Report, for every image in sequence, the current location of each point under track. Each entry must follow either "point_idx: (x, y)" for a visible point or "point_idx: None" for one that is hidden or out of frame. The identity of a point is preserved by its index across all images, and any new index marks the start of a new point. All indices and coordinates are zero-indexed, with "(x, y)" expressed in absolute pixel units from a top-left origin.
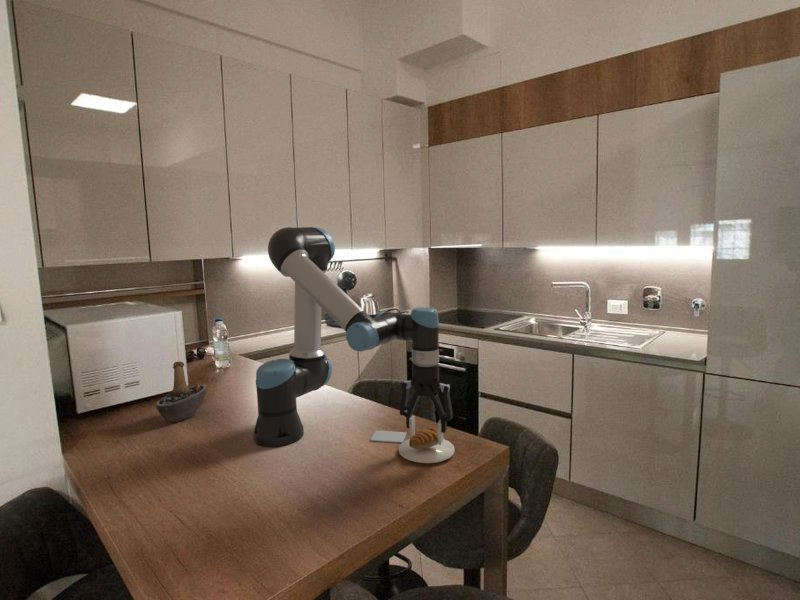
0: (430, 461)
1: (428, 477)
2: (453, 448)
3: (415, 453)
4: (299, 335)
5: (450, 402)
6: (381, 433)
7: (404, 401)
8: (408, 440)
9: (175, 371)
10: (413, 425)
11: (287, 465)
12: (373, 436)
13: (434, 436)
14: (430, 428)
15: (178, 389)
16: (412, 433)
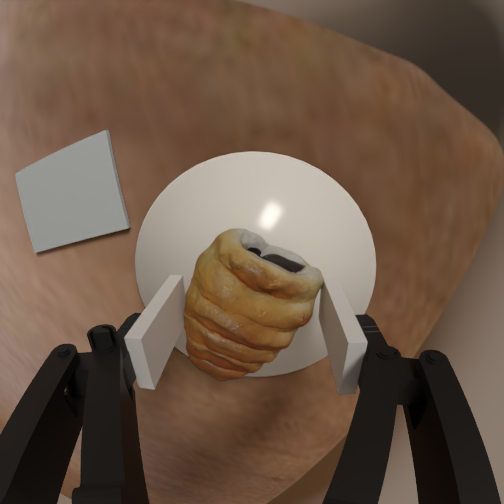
0: (299, 368)
1: (308, 409)
2: (369, 249)
3: None
4: None
5: (474, 449)
6: (36, 188)
7: (63, 461)
8: (149, 234)
9: None
10: (164, 332)
11: (15, 394)
12: (29, 224)
13: (300, 326)
14: (260, 284)
15: None
16: (178, 329)
